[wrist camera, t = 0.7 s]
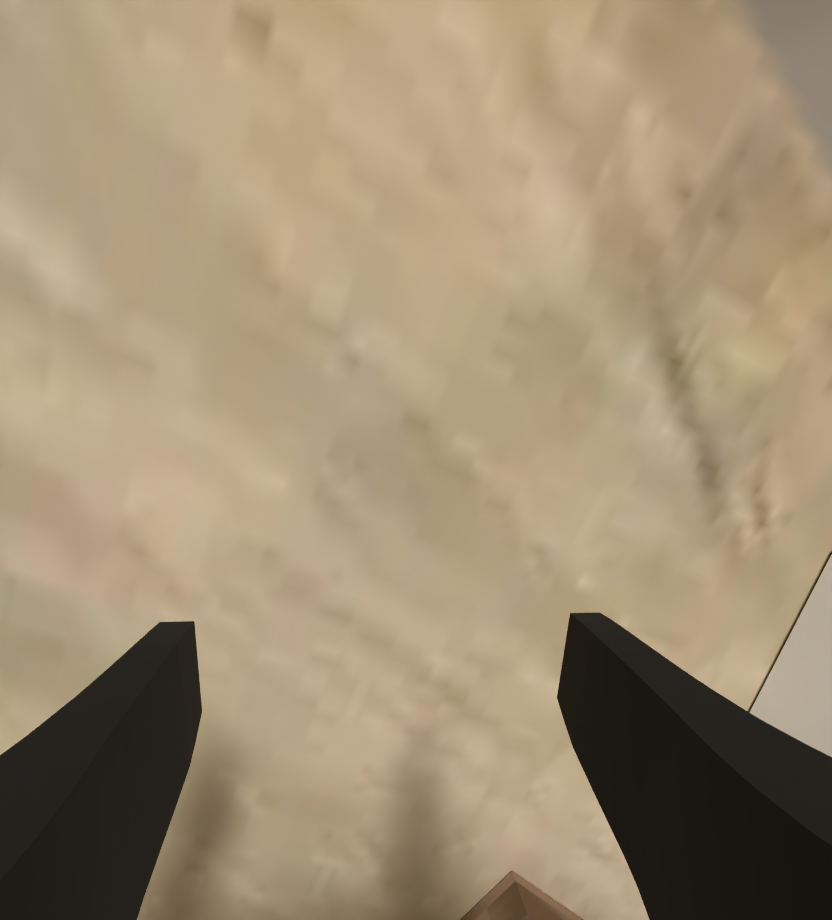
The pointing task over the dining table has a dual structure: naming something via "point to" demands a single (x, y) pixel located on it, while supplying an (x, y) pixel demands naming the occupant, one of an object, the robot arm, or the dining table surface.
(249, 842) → the dining table surface
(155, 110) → the dining table surface
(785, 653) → the gable box
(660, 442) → the dining table surface
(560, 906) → the holder
